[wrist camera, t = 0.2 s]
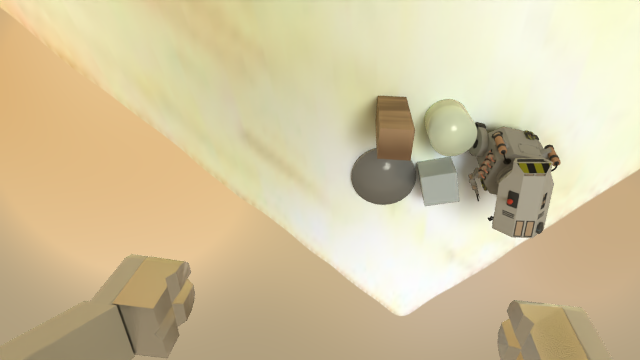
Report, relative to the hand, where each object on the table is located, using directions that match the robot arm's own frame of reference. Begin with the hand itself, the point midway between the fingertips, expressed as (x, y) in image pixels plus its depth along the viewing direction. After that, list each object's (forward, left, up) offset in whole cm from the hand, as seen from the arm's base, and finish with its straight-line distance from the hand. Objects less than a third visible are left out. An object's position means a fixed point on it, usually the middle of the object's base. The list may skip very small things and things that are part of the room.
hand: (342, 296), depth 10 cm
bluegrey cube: (+22, +13, -48) cm, 54 cm away
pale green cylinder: (+13, +13, -48) cm, 51 cm away
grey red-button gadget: (+18, +21, -48) cm, 55 cm away
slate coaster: (+23, +5, -48) cm, 53 cm away
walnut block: (+12, +5, -48) cm, 49 cm away
